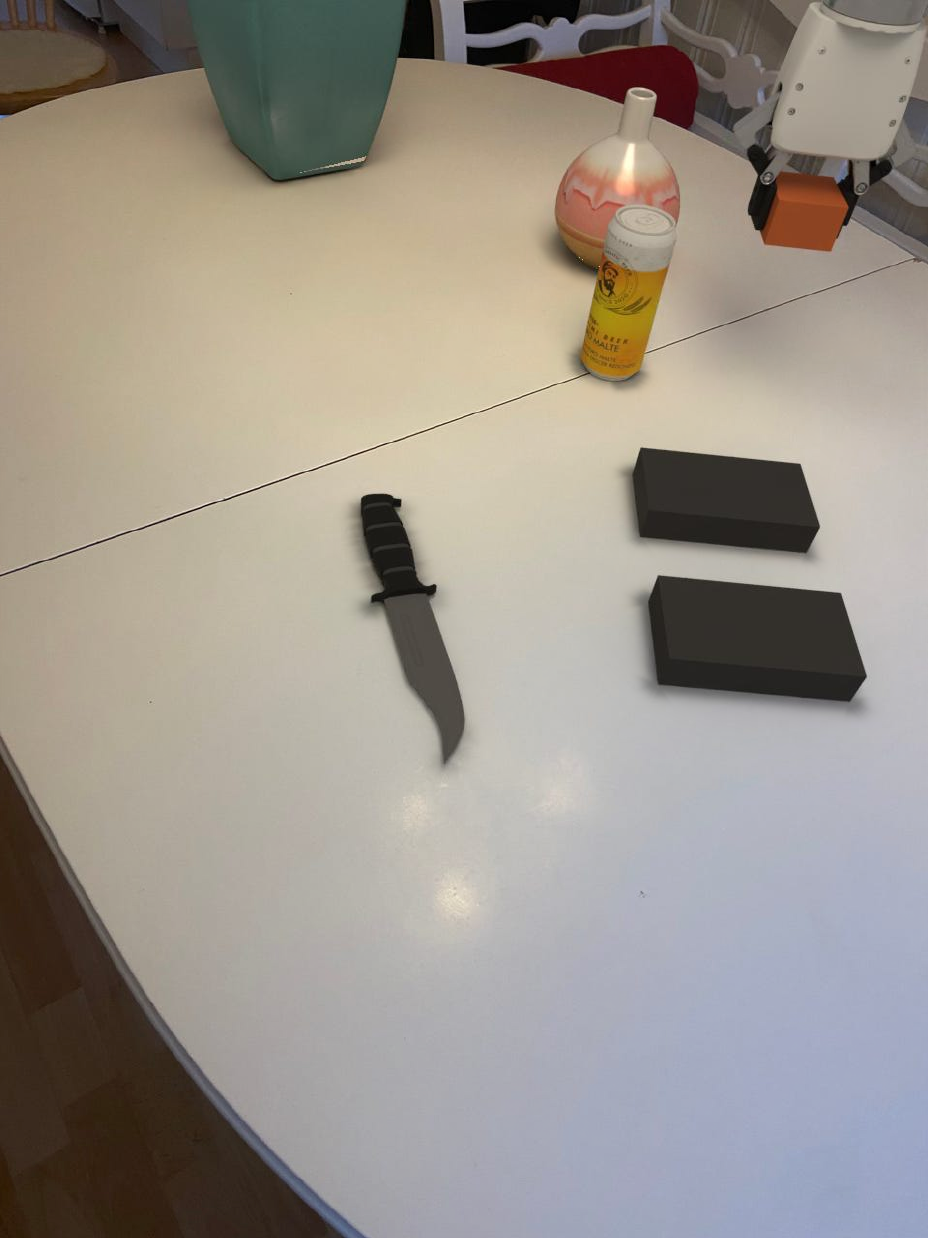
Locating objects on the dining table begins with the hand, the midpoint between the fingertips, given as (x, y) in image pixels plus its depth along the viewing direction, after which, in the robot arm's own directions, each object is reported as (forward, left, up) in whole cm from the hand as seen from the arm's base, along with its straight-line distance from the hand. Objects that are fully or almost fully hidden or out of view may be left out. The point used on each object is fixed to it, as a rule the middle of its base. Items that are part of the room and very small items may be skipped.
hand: (793, 225), depth 83 cm
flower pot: (+51, -38, -15) cm, 65 cm away
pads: (+6, +30, -15) cm, 34 cm away
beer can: (+14, +2, -15) cm, 20 cm away
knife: (+31, +38, -15) cm, 51 cm away
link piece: (0, 0, -1) cm, 1 cm away
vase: (+13, -20, -15) cm, 28 cm away
